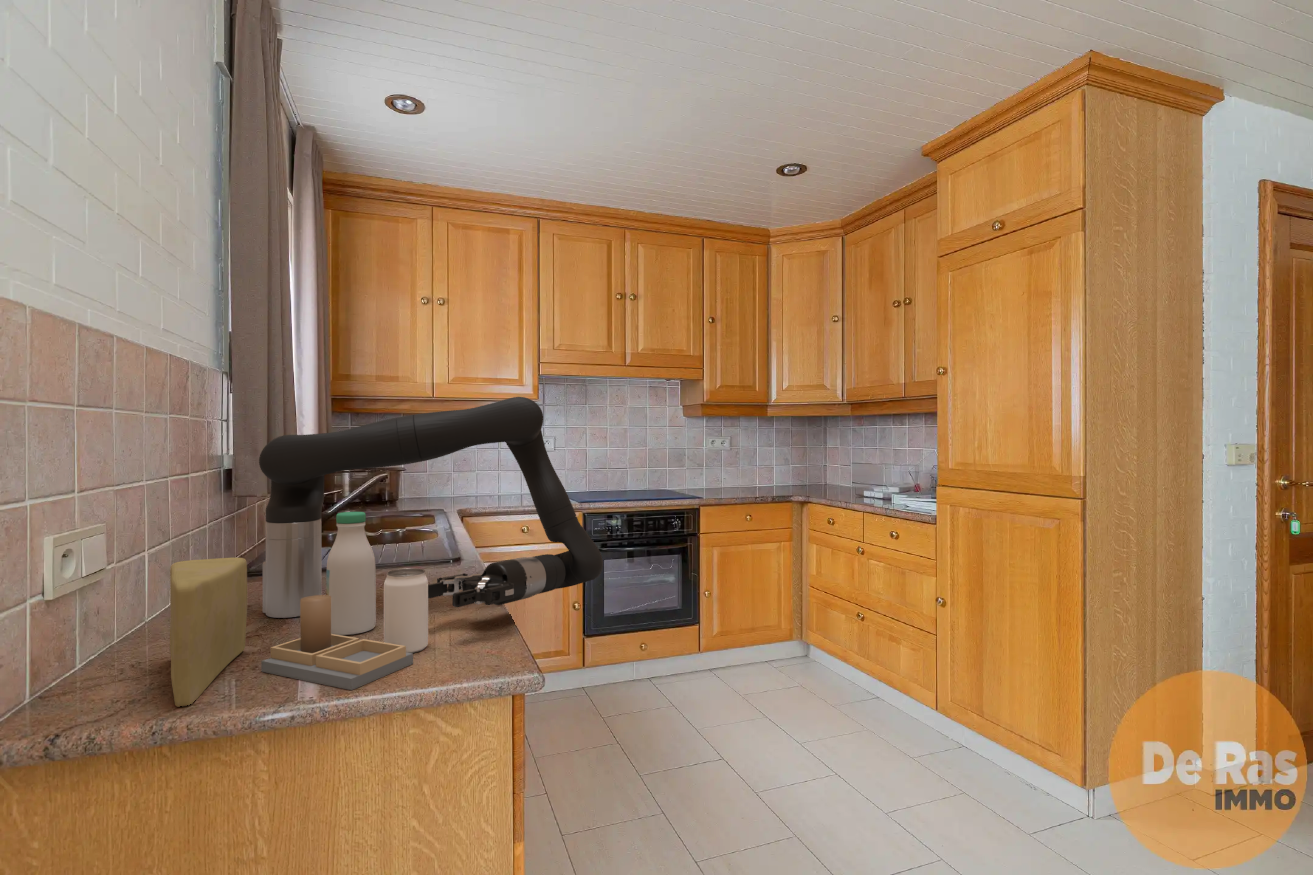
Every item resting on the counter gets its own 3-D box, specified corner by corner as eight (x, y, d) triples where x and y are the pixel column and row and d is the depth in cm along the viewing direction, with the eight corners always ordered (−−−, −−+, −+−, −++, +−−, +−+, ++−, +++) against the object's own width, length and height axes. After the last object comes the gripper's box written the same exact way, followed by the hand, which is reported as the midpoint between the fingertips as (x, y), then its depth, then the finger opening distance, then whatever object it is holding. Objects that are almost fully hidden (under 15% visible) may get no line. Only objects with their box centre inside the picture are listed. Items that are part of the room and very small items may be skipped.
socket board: (261, 671, 95) (261, 604, 94) (327, 648, 105) (327, 587, 105) (351, 690, 88) (351, 617, 88) (413, 663, 98) (413, 598, 98)
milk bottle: (385, 625, 117) (385, 511, 117) (352, 638, 110) (352, 516, 110) (350, 621, 120) (350, 509, 120) (315, 633, 112) (315, 514, 112)
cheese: (230, 701, 84) (229, 582, 84) (133, 715, 80) (133, 590, 80) (247, 650, 104) (247, 553, 104) (171, 659, 100) (171, 558, 100)
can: (413, 656, 101) (413, 576, 101) (374, 653, 102) (374, 575, 102) (436, 643, 107) (435, 568, 107) (399, 640, 109) (399, 566, 109)
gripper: (489, 554, 127) (412, 568, 114) (541, 563, 118) (465, 579, 105) (489, 594, 127) (412, 612, 114) (541, 606, 118) (464, 627, 105)
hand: (437, 596), depth 109 cm, fingers open, 8 cm apart
